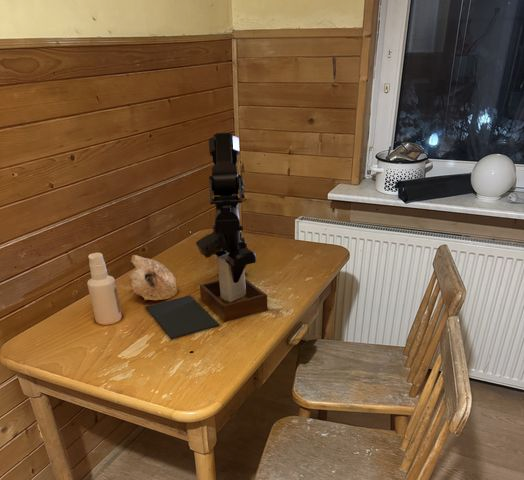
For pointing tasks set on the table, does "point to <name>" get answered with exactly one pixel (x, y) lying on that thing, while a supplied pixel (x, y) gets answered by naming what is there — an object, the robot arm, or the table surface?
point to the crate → (235, 309)
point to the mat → (181, 316)
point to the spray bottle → (103, 292)
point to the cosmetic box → (229, 281)
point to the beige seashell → (152, 279)
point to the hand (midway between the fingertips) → (231, 279)
